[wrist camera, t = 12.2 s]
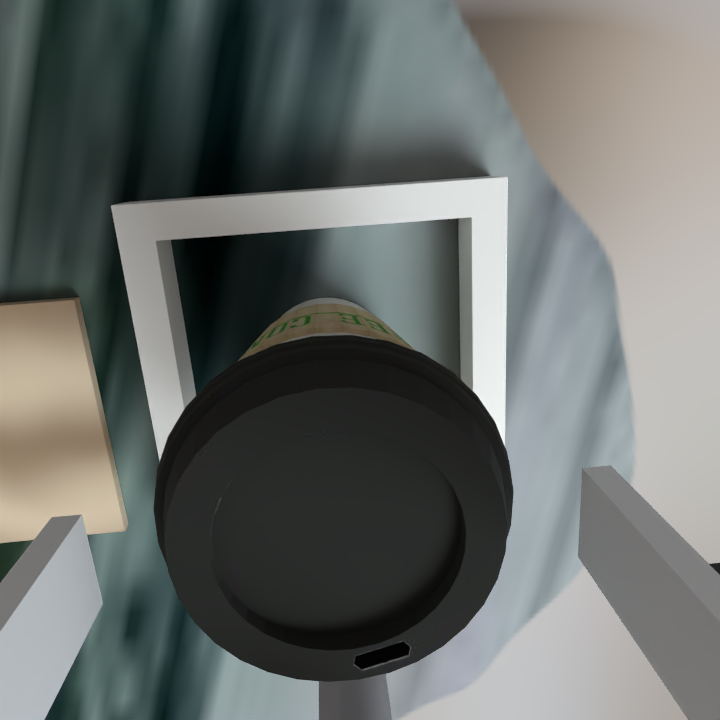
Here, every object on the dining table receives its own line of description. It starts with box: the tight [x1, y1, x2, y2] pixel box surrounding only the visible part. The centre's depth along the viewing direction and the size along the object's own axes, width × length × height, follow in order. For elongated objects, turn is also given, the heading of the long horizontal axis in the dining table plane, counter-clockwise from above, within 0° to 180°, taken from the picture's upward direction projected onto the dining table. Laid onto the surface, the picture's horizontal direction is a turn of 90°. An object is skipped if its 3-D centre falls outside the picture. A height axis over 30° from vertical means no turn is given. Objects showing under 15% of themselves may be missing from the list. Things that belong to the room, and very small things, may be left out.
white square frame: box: [111, 176, 508, 720], centre depth 21 cm, size 18×16×18 cm
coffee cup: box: [154, 298, 513, 682], centre depth 22 cm, size 10×10×15 cm
